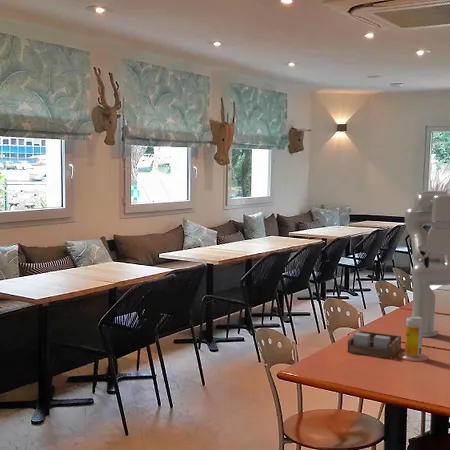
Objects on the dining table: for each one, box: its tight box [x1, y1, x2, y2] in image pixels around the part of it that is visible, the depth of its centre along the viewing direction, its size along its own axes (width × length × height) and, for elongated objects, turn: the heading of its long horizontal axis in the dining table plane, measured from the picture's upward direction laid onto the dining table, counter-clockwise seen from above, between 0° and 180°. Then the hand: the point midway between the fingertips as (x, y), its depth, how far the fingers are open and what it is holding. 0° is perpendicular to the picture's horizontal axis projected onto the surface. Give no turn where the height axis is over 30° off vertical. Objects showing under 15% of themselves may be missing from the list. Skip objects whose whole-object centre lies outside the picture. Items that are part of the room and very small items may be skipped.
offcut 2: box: [374, 335, 390, 350], centre depth 244 cm, size 4×6×7 cm
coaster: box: [397, 351, 429, 363], centre depth 241 cm, size 11×11×1 cm
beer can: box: [404, 315, 423, 357], centre depth 241 cm, size 6×6×15 cm
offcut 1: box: [353, 331, 370, 347], centre depth 248 cm, size 4×6×7 cm
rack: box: [347, 330, 402, 360], centre depth 250 cm, size 17×17×5 cm
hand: (439, 268), depth 249 cm, fingers open, 9 cm apart
